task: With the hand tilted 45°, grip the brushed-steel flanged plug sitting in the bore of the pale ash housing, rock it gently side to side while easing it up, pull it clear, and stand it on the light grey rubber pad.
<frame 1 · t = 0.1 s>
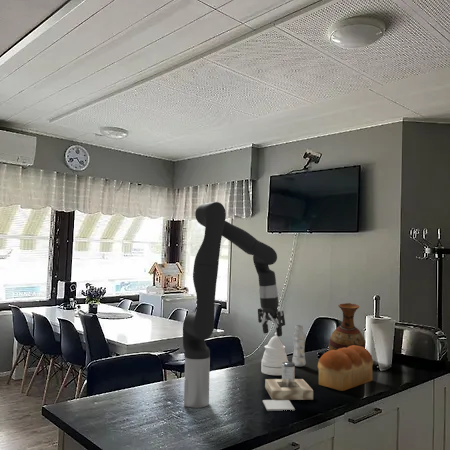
hand: (272, 334, 191), 22 cm above the kitchen counter, tool pointing down, fingers open, 8 cm apart
ash housing: (288, 393, 185), on the kitchen counter
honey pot: (274, 372, 219), on the kitchen counter
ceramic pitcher: (347, 359, 247), on the kitchen counter
bread: (346, 383, 202), on the kitchen counter
plastic bottle: (298, 366, 230), on the kitchen counter
steel plug: (288, 378, 185), in the ash housing
grey rubber pad: (278, 405, 169), on the kitchen counter
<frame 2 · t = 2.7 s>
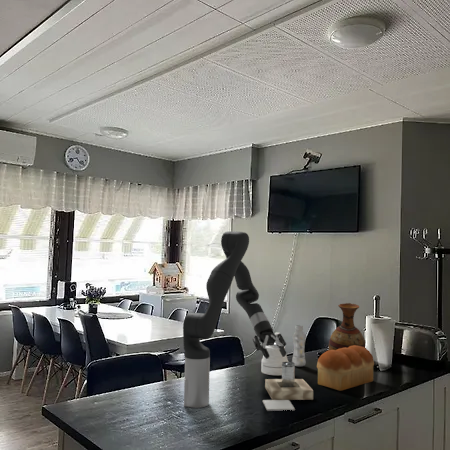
hand: (276, 356, 193), 13 cm above the kitchen counter, tool tilted 45°, fingers open, 8 cm apart
nothing on the kitchen counter moved.
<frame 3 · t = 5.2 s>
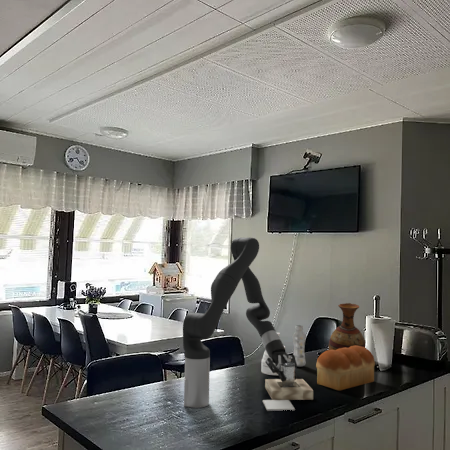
hand: (290, 379, 184), 6 cm above the kitchen counter, tool tilted 45°, fingers closed on steel plug, 5 cm apart
steel plug: (288, 378, 185), in the ash housing, touching gripper
everything else where it was.
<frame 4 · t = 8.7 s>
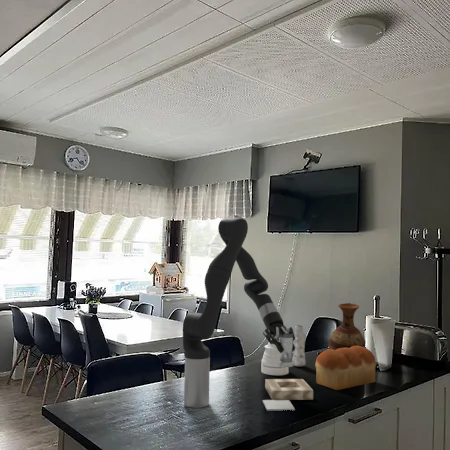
hand: (287, 350, 182), 18 cm above the kitchen counter, tool tilted 45°, fingers closed on steel plug, 5 cm apart
steel plug: (286, 349, 183), point 18 cm above the kitchen counter, touching gripper
when the fingers open (8 cm above the kitchen counter, at t = 12.4 s): steel plug drops 1 cm, resting on grey rubber pad.
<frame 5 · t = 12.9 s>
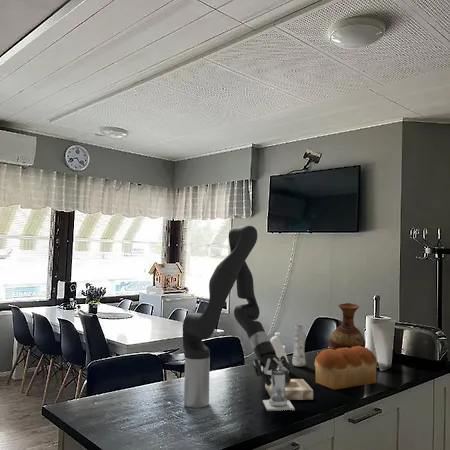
hand: (279, 383, 169), 8 cm above the kitchen counter, tool tilted 45°, fingers open, 8 cm apart
steel plug: (278, 387, 170), on the grey rubber pad, point 7 cm above the kitchen counter
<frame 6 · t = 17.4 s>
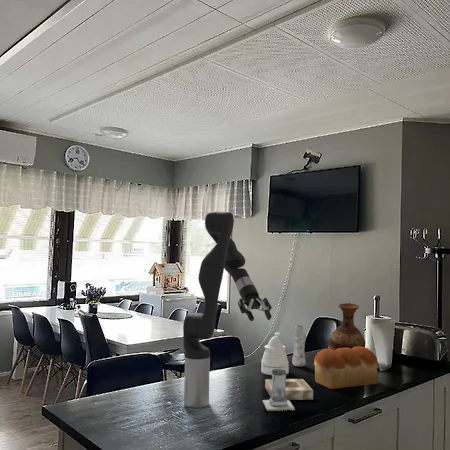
hand: (261, 319, 190), 29 cm above the kitchen counter, tool tilted 45°, fingers open, 8 cm apart
at the end: steel plug inside the target area on the grey rubber pad (0.2 cm from its centre), point 6.7 cm above the grey rubber pad's base; steel plug tilted 1°; the gripper is holding nothing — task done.
